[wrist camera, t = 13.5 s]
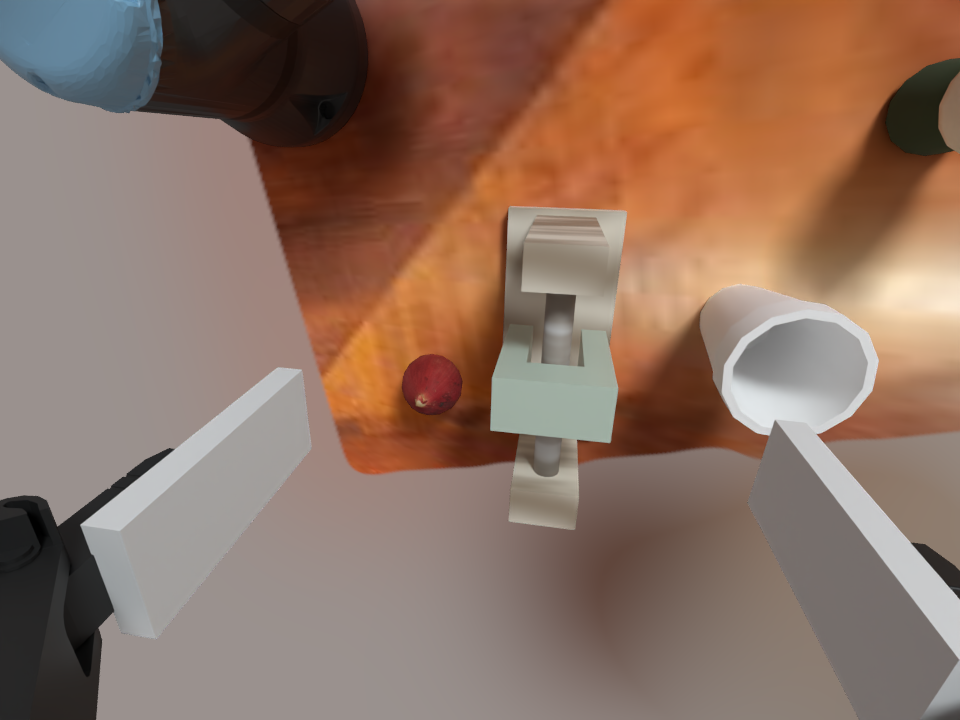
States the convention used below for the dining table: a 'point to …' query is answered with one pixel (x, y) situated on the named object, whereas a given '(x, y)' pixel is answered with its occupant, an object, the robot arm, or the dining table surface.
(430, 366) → the onion
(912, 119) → the character mug
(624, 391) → the dining table surface
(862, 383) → the foam cup
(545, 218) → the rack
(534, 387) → the grey u-shaped block
